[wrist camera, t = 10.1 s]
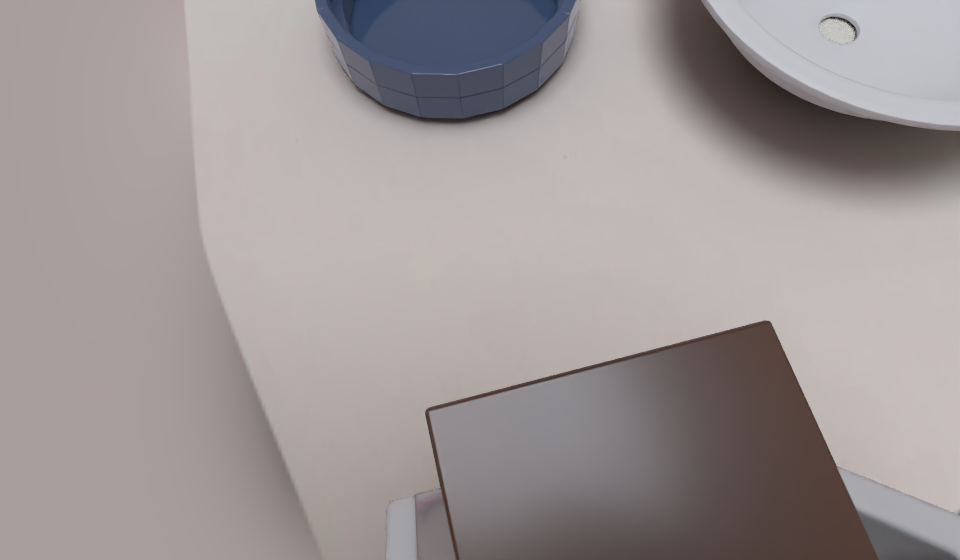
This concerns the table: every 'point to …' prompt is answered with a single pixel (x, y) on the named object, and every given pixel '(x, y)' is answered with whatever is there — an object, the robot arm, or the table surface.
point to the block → (648, 462)
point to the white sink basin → (856, 55)
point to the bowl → (449, 50)
